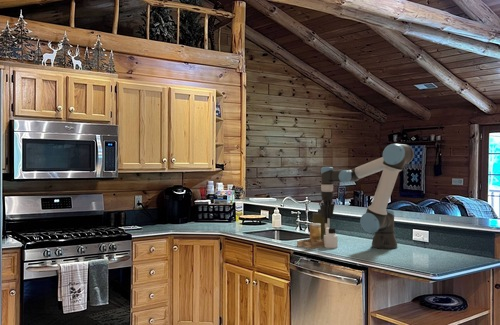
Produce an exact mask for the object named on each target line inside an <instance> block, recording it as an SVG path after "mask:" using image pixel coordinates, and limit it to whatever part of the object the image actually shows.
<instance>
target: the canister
mask: <svg viewBox="0 0 500 325" xmlns="http://www.w3.org/2000/svg"><path fill="white" fill-rule="evenodd" d="M311 215H312V223H320V224H321V240H322V239H324V235H326V232H325V229H326V228H325V223H324V218H323V217H322V215H321V209H320V208H318V209H317V211H316V212H312V214H311Z"/></svg>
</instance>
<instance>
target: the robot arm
mask: <svg viewBox="0 0 500 325" xmlns="http://www.w3.org/2000/svg"><path fill="white" fill-rule="evenodd" d="M414 157H415V152H414V149H413V147H411V146H410V145H409V144H407V143H391V144H388V145H387V146H385V147H384V150H383V151H382V157H379V158H376V159H373V160H371V161H369V162H367V163H364V164H361V165H359V166H357V167H354V168H352V169H340V170H339V169H334V167H333V166H323V167H321V169H320V170H321V171H320V178H321V179H320V181H321V182H320V183H321V184H320V185H321V186H320V188H321V189H320V191H321V192H320V194H321V196H320V197H321V202H318V205H319V209H321V215H322V217H323V218H324V223H325V228H328V227H331V226H330V224H331V219H332V217H333V216H334V210H335V205H336V201H334V199H333V198H334V183H349V182H352V183H355V182H357V181H359V180H361V179H363V178H366V177H369V176H371V175H373V174H376V173H378V172H381V171H382V173H381V176H380V178H379V181H378V184H377V186H376V190H375V193H374V197H373V198H372V202H371V205H369V206H368V207H367V209H366V210H365V213H363V214H361V216H360V220H359V222H360V226H361V227H362V229H363V230H364V231H365V232H366V233H369V234H370V233H372V234H374V235H373V238H372V242H371V247H372V248H374V249H381V250H382V249H383V250H385V249H387V250H389V249H392V250H393V249H397V248H398V242H397V239H396V236H395V212H394V210H392V209H387V207H388V204H389V201H390V199H391V196H392V193H393V190H394V187H395V184H396V182H397V179H398V175H399V173H400V172H402V171H403V170H404V167H405V165H406V164H409V163H410V162H412V160H413V159H414Z"/></svg>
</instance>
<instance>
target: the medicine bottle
mask: <svg viewBox="0 0 500 325" xmlns="http://www.w3.org/2000/svg"><path fill="white" fill-rule="evenodd" d="M325 232H326V235H324V246H323V247H325V249H338V236H337V235H336V228H334V227H332V226H330V227H328V228H326V229H325Z"/></svg>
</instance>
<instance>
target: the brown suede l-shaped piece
mask: <svg viewBox="0 0 500 325" xmlns="http://www.w3.org/2000/svg"><path fill="white" fill-rule="evenodd" d="M296 245H297V247H301V248H306V249H307V248H308V249H316V248H322V247H324V239H322V240H321V224H320V223H313V222H311V223H309V239H308V238H307V239H301V240H296Z"/></svg>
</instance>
